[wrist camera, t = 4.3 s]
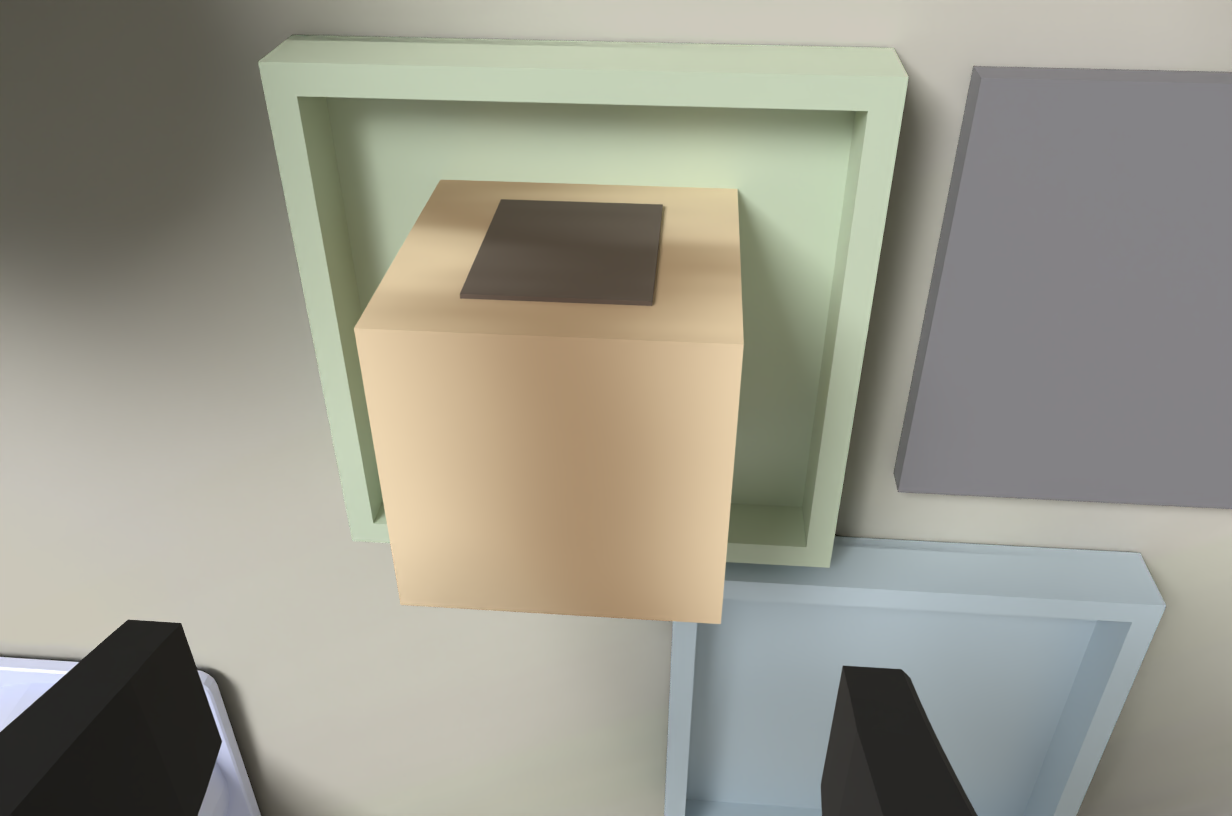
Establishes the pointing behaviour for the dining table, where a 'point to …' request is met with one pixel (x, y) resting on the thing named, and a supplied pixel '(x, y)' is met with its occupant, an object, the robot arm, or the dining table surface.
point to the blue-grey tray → (910, 670)
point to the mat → (1081, 294)
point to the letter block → (559, 398)
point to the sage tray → (612, 155)
